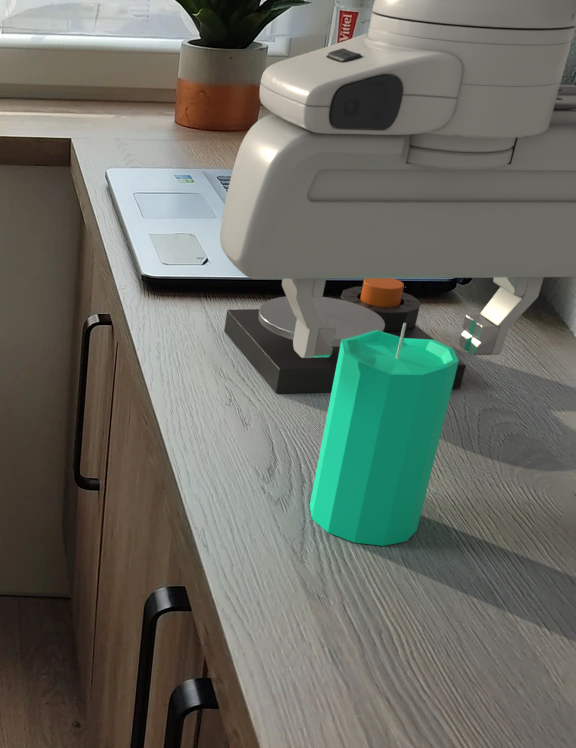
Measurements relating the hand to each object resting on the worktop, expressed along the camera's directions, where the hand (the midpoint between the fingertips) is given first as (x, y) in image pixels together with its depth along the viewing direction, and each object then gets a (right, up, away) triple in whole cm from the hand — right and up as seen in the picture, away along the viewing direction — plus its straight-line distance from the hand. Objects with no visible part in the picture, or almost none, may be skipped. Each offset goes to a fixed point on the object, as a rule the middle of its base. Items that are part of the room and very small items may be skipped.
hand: (395, 352), depth 58 cm
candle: (0, -9, +5) cm, 11 cm away
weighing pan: (+3, +4, +23) cm, 23 cm away
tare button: (+9, +6, +28) cm, 30 cm away
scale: (+5, +2, +26) cm, 27 cm away
